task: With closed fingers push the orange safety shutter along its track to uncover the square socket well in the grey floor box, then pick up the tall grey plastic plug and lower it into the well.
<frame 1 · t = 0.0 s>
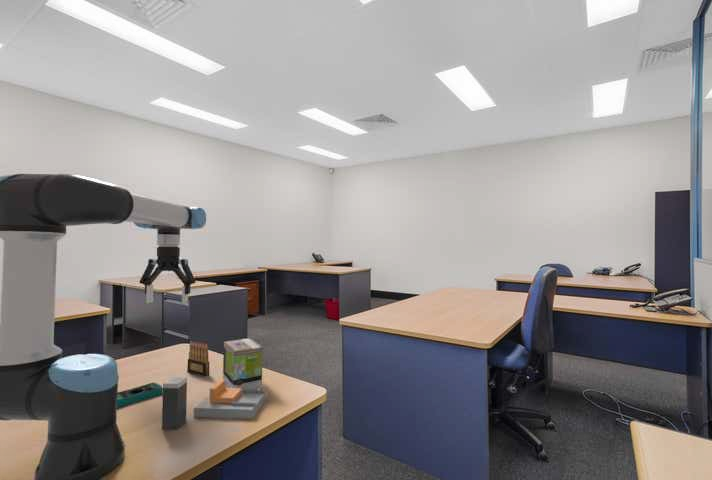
hand: (167, 302, 122), 28 cm above the table, fingers open, 13 cm apart
tea box: (241, 386, 115), on the table
socket plate: (232, 406, 99), on the table
plug: (174, 425, 89), on the table
shutter: (226, 391, 100), point 5 cm above the table, slide at 0.0 cm
ammunition clip: (198, 374, 127), on the table
digital multimeter: (134, 400, 105), on the table
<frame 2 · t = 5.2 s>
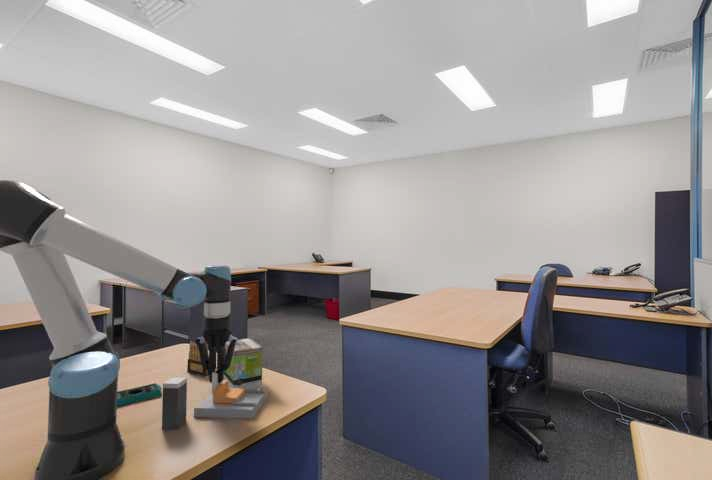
hand: (216, 392, 100), 4 cm above the table, fingers closed
shutter: (229, 391, 100), point 5 cm above the table, slide at 1.0 cm, touching gripper
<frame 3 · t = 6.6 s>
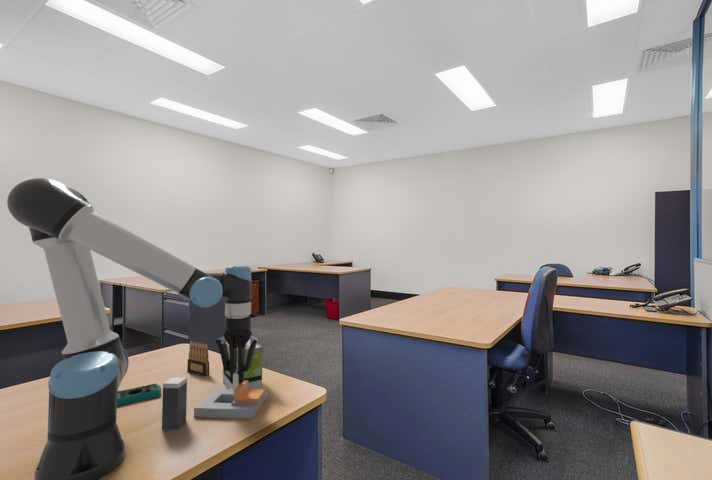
hand: (236, 393, 100), 4 cm above the table, fingers closed
shutter: (250, 391, 99), point 5 cm above the table, slide at 7.5 cm, touching gripper
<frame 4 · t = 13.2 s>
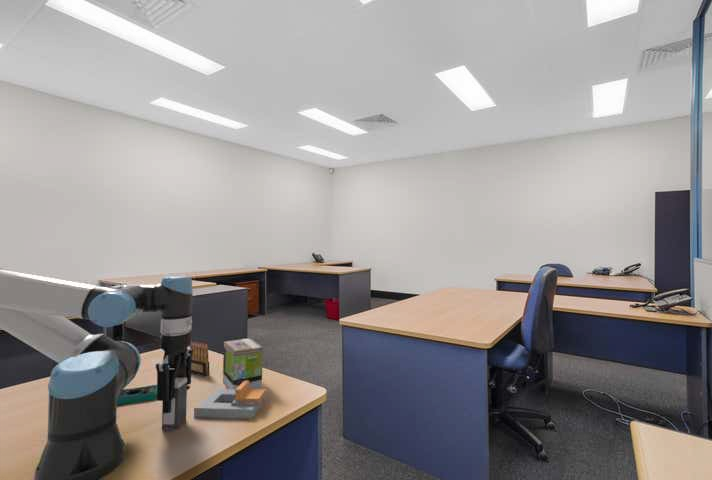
hand: (174, 418, 89), 2 cm above the table, fingers closed on plug, 4 cm apart
plug: (174, 424, 89), on the table, touching gripper
shutter: (251, 391, 99), point 5 cm above the table, slide at 7.7 cm
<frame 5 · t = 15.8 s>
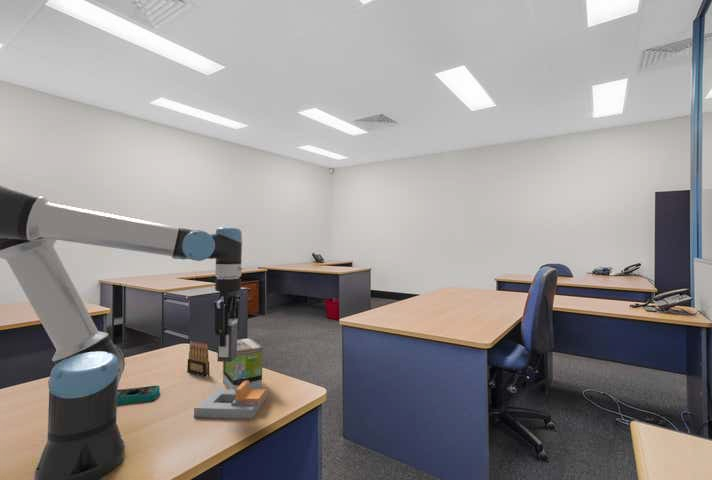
hand: (227, 353, 100), 16 cm above the table, fingers closed on plug, 4 cm apart
plug: (227, 359, 100), point 14 cm above the table, touching gripper
when the fingers open (3 cm above the table, at t = 18.7 s): plug drops 2 cm, resting on socket plate.
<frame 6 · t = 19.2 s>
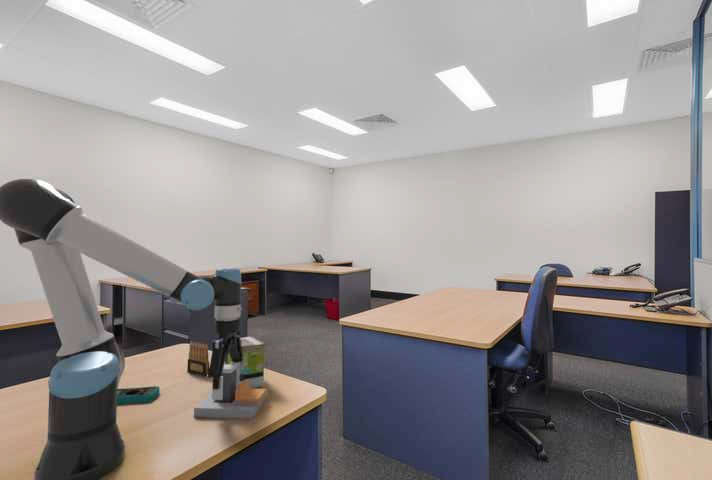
hand: (226, 390, 100), 5 cm above the table, fingers open, 11 cm apart
tea box: (243, 383, 117), on the table, touching gripper
plug: (226, 406, 99), resting on socket plate
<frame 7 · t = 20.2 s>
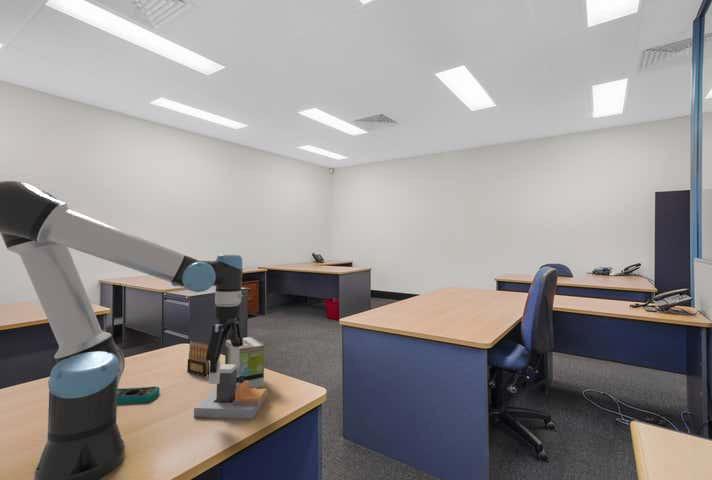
hand: (224, 374, 99), 10 cm above the table, fingers open, 13 cm apart
tea box: (243, 384, 117), on the table
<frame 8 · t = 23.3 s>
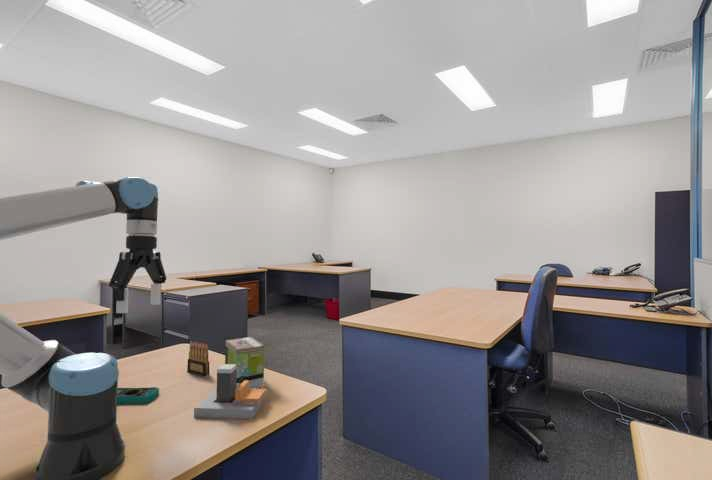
hand: (139, 308, 95), 31 cm above the table, fingers open, 13 cm apart
at the end: plug 0.0 cm from the target spot on the socket plate, point 0.1 cm above the socket plate's base; plug tilted 0°; shutter slide at 7.7 cm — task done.
